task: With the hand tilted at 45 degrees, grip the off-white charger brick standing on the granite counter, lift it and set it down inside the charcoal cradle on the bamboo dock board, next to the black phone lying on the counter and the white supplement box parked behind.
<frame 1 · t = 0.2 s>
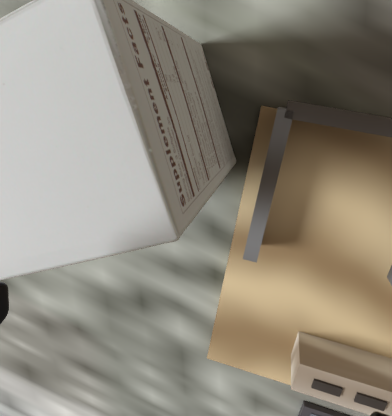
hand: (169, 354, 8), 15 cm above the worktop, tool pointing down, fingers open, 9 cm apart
supplement box: (169, 123, 22), on the worktop
dock station: (332, 270, 22), on the worktop
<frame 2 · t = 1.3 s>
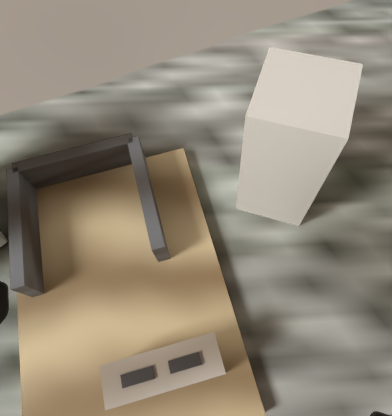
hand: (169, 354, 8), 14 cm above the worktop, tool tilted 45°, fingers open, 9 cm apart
charger: (274, 190, 25), on the worktop
dock station: (122, 288, 23), on the worktop
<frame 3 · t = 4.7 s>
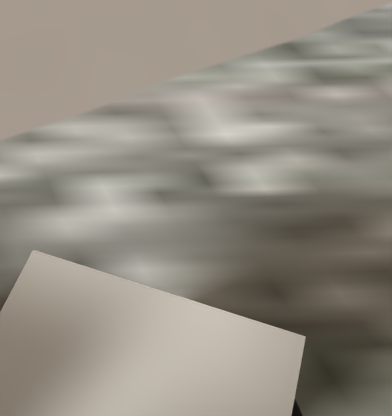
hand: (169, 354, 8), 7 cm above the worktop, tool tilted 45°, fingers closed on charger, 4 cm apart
charger: (179, 396, 14), on the worktop, touching gripper
when the fingers open (9 cm above the worktop, at t = 8.1 s): charger drops 1 cm, resting on dock station.
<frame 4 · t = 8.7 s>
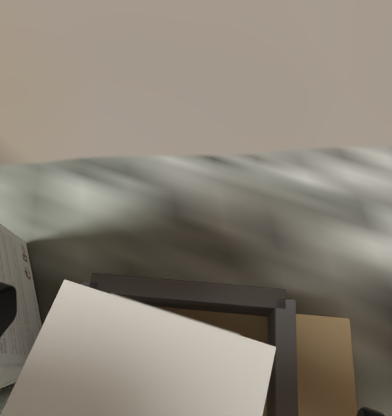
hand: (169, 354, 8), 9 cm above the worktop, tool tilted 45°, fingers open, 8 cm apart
charger: (179, 397, 15), point 1 cm above the worktop, touching dock station
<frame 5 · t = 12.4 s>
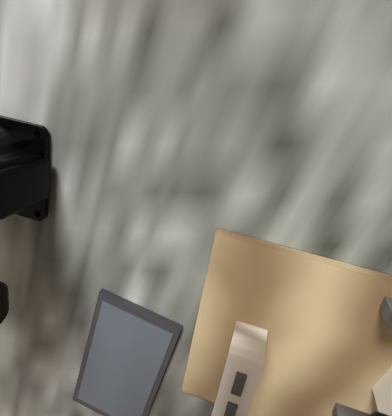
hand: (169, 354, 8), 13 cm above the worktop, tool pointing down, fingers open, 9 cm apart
phone: (126, 359, 27), on the worktop
dock station: (334, 356, 22), on the worktop
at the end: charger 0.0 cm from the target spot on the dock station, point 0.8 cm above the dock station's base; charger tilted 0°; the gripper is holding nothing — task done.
